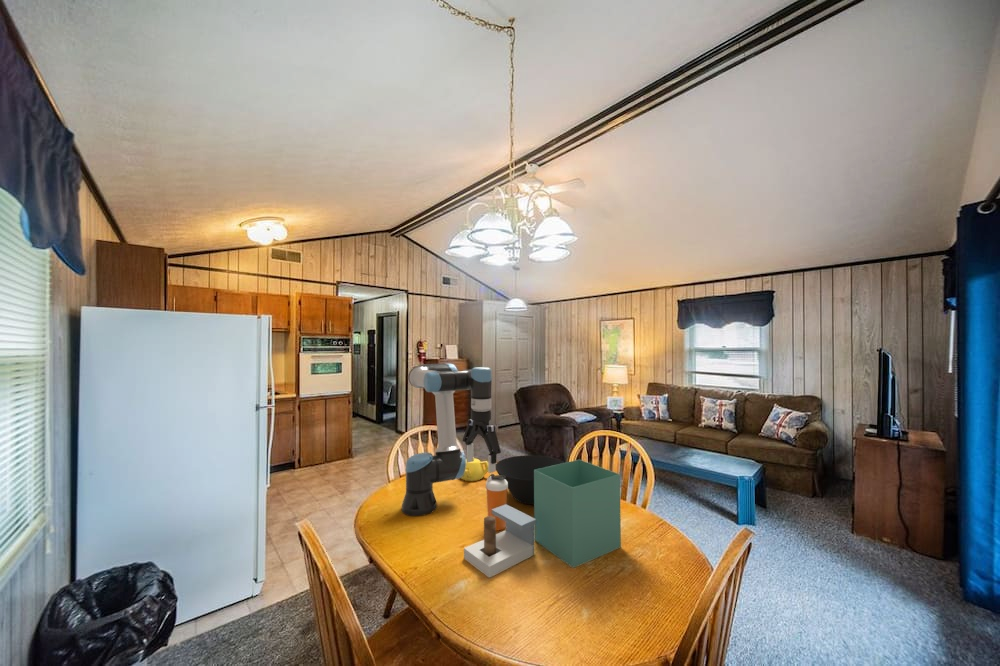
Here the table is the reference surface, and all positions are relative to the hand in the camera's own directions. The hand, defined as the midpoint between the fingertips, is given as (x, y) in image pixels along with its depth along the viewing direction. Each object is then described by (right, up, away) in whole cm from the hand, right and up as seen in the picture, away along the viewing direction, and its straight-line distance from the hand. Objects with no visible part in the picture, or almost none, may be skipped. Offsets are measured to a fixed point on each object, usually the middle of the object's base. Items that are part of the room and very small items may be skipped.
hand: (480, 466), depth 139 cm
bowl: (+23, -29, +39) cm, 53 cm away
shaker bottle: (+6, -28, +12) cm, 31 cm away
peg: (+4, -28, -12) cm, 30 cm away
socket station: (+7, -28, -10) cm, 30 cm away
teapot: (-8, -30, +65) cm, 72 cm away
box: (+35, -28, -1) cm, 45 cm away
